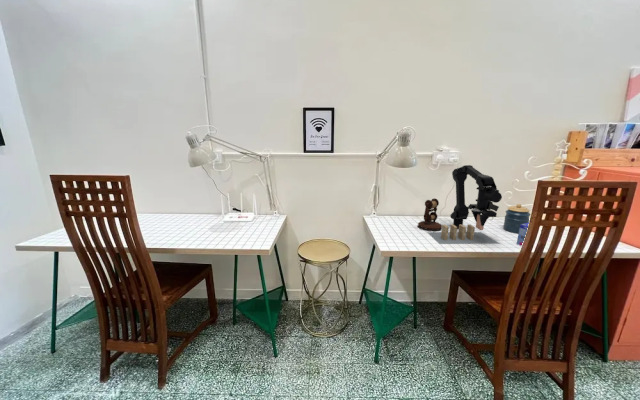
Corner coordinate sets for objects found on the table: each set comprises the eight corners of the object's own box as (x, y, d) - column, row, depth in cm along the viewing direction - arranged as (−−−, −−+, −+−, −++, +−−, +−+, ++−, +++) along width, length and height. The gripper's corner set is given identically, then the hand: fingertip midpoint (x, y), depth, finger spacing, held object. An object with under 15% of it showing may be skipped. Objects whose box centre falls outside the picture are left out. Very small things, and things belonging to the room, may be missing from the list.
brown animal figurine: (426, 223, 188) (428, 195, 183) (446, 229, 176) (449, 199, 171) (413, 227, 180) (415, 198, 175) (433, 233, 168) (435, 203, 163)
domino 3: (461, 240, 156) (463, 227, 154) (457, 237, 161) (459, 224, 159) (464, 240, 156) (466, 227, 154) (460, 237, 161) (461, 224, 159)
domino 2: (453, 240, 156) (454, 227, 154) (449, 237, 161) (450, 224, 159) (455, 240, 156) (457, 227, 154) (452, 237, 161) (453, 224, 159)
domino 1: (444, 240, 156) (445, 227, 154) (441, 237, 161) (442, 224, 159) (447, 240, 156) (448, 227, 154) (443, 237, 161) (444, 224, 159)
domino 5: (480, 230, 154) (482, 217, 152) (475, 227, 159) (477, 214, 157) (483, 230, 154) (484, 217, 152) (478, 227, 159) (480, 214, 157)
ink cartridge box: (526, 248, 144) (531, 223, 141) (515, 244, 149) (520, 220, 146) (537, 245, 148) (542, 220, 145) (526, 241, 153) (530, 217, 150)
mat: (427, 232, 169) (427, 232, 169) (481, 232, 168) (481, 232, 168) (439, 244, 151) (439, 243, 151) (500, 244, 150) (500, 243, 150)
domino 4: (470, 240, 156) (472, 227, 154) (466, 237, 160) (467, 224, 159) (473, 240, 156) (474, 227, 154) (468, 237, 160) (470, 224, 159)
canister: (526, 229, 174) (531, 203, 170) (528, 235, 163) (533, 207, 159) (502, 225, 181) (506, 200, 177) (502, 231, 170) (507, 204, 166)
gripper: (508, 202, 143) (504, 229, 147) (487, 194, 161) (484, 219, 165) (487, 202, 143) (483, 229, 147) (469, 195, 161) (466, 219, 165)
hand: (479, 224), depth 156 cm, fingers closed on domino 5, 5 cm apart
